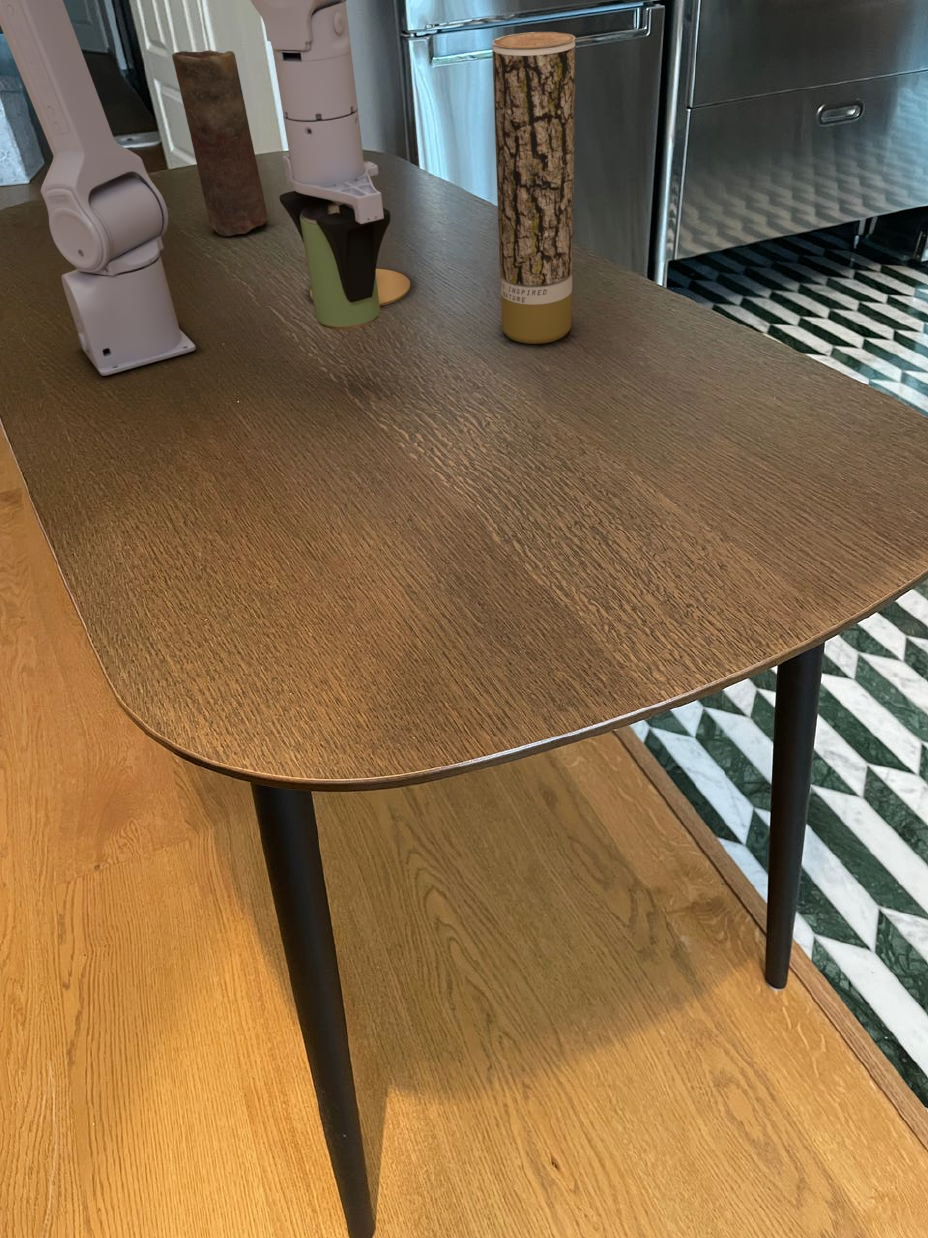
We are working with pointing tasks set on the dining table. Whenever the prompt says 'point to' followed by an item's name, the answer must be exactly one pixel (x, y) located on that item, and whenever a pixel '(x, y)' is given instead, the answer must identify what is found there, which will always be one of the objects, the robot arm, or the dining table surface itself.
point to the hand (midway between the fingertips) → (344, 287)
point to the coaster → (389, 286)
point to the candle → (221, 140)
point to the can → (331, 277)
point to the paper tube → (535, 182)
